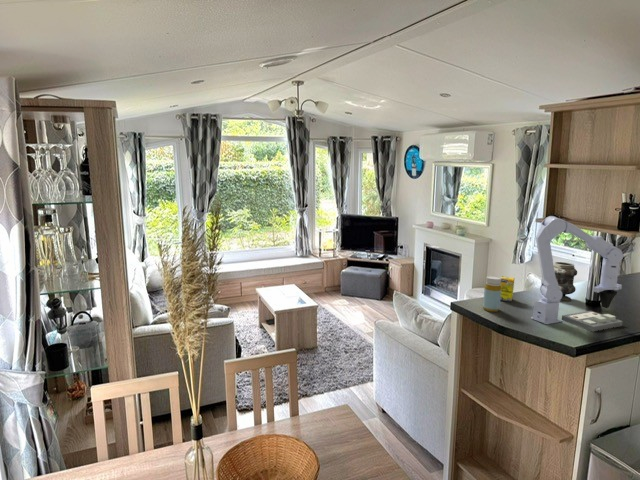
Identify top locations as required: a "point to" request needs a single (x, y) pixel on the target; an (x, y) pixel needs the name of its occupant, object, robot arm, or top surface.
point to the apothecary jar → (565, 278)
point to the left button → (589, 322)
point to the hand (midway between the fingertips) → (605, 307)
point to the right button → (609, 317)
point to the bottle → (492, 294)
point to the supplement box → (507, 288)
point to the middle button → (599, 319)
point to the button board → (587, 315)
